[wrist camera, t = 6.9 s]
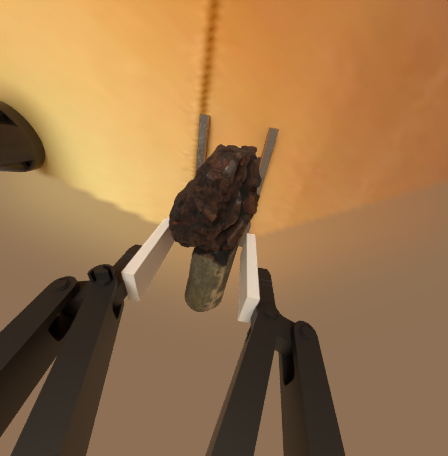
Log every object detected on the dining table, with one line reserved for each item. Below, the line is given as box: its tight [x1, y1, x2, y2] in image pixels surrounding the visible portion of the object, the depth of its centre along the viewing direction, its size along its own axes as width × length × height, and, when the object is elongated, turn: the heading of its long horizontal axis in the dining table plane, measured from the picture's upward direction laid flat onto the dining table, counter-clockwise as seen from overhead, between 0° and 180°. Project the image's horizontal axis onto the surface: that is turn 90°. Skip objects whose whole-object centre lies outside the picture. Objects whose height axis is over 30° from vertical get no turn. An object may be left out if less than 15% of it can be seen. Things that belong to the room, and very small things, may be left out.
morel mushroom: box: [169, 144, 262, 312], centre depth 16 cm, size 18×7×6 cm, turn 168°
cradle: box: [196, 114, 279, 247], centre depth 35 cm, size 15×24×12 cm, turn 171°
